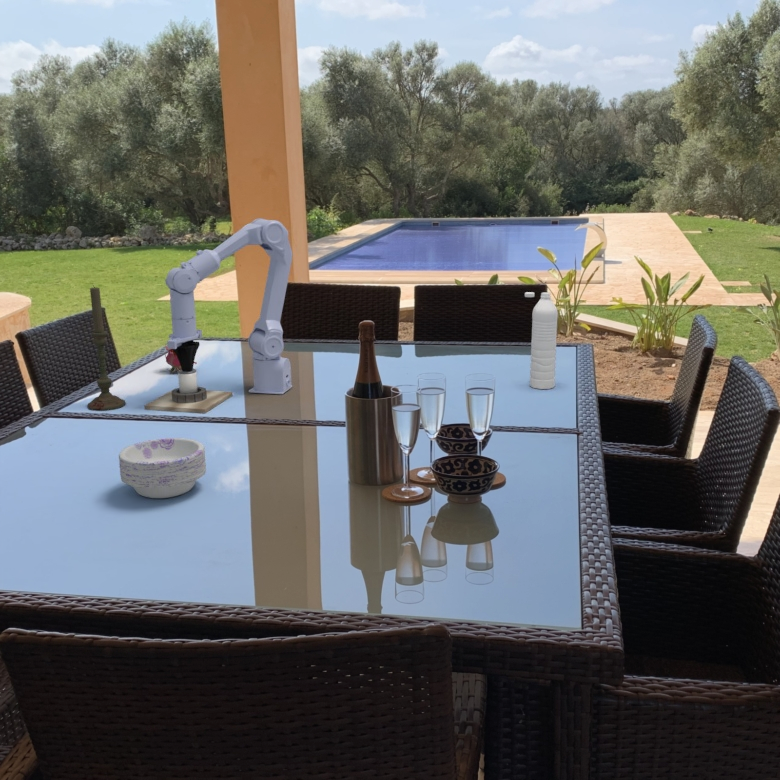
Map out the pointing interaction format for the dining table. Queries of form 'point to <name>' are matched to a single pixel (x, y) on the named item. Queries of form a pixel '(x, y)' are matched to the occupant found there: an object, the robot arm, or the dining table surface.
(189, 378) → the grey capped cylinder
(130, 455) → the paper bowls
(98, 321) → the candlestick holder
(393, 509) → the dining table surface
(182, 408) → the tan square tray
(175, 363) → the flower
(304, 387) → the dining table surface
